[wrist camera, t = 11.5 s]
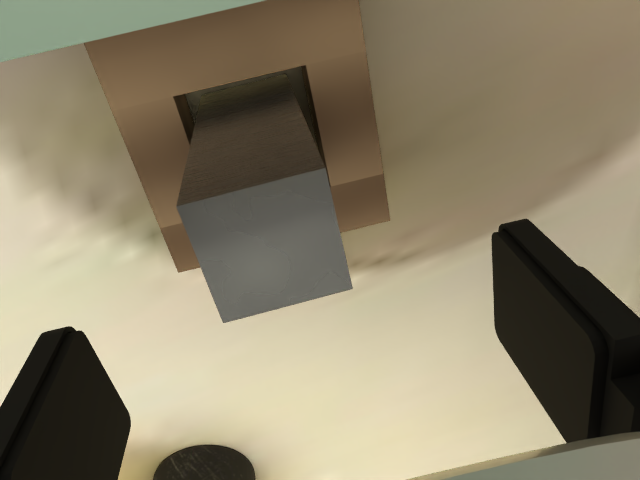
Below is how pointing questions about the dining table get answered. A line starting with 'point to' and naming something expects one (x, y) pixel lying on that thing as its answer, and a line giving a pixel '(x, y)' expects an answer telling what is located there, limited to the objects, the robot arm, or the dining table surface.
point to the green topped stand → (89, 20)
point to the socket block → (235, 65)
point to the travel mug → (205, 465)
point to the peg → (260, 202)
